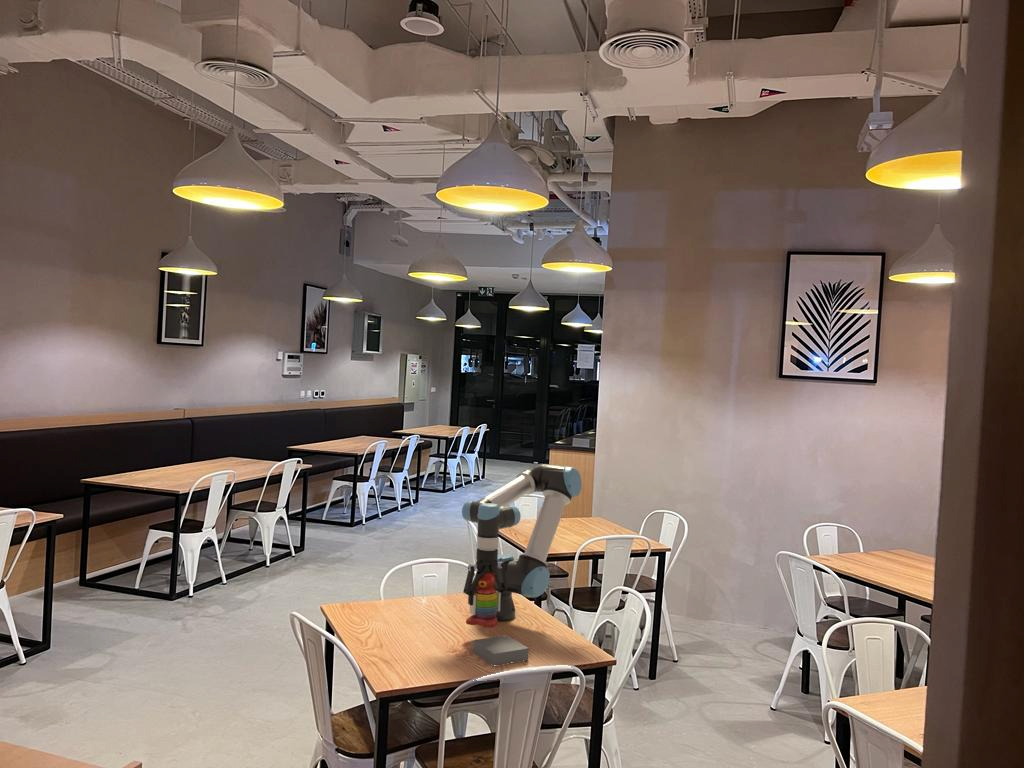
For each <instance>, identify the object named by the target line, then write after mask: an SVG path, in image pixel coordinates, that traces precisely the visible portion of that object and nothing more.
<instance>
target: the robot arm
mask: <svg viewBox="0 0 1024 768" xmlns="http://www.w3.org/2000/svg"><path fill="white" fill-rule="evenodd" d="M582 484H583V483H582V476H581V473H580V471H579V470H578V469H577V467H572V466H569V465H559V464H558V465H556V464H549V463H541V464H537V465H534V466H531V467H528V468H527V469H524V470H523V471H521V472H519V473H518V474H517V475H516V477H515V478H514V479H512V480H511V481H509V482H507V483H505V484H504V485H502V486H501V487H499V488H497V489H496V490H494V491H492V492H491V493H489V494H487V495H486V496H484V497H483V498H481V499H479V500H478V501H477V500H476V501H475V500H471V501H470V500H469V501H466V502H465V503H463V506H462V508H461V516H462V518H463V519H464V520H465V521H466V522H471V523H477V535H476V536H477V537H476V547H477V548H476V557H475V558H476V559H475V560H476V563H475V564H472V565H471V564H468V565H467V575H466V579H465V583H464V586H463V591H462V592H463V593H464V595H467V596H468V598H467V603H468V605H469V614H470V615H471V616H472V615H475V608H476V596H475V595H474V594H475V592H476V590H477V587H478V582H479V580H480V579H481V578H483V576H484V574H486V573H491V572H493V573H495V576H494V577H495V583H494V586H493V588H495V590H496V593H497V598H498V610H497V614H496V618H497V621H498V622H503V621H509V620H513V619H514V618H516V608H515V603H514V599H513V595H512V594H513V593H514V594H517V595H521V596H524V597H527V598H529V597H530V598H538V597H539V596H542V595H543V594H544V593H545V591H546V590H547V589H548V586H549V583H550V579H551V578H550V576H551V575H550V574H551V573H550V571H549V569H548V566H549V565H548V563H547V558H548V555H549V553H550V549H551V548H552V543H553V541H554V538H555V535H556V532H557V529H558V526H559V524H560V521H561V518H562V516H563V513H564V509H565V507H566V506H567V505H569V504H570V503H571V501H572V498H576V497H578V496H579V495H580V493H581V491H582V486H583V485H582ZM539 492H540V493H542V494H543V497H544V499H543V502H542V504H541V507H540V509H539V513H538V516H537V519H536V520H535V524H534V527H533V528H532V529H533V530H532V532H531V534H530V537H529V540H528V542H527V545H526V549H525V551H524V553H521V554H519V556H518V559H517V561H516V560H515V557H514V556H513V555H512V554H498V553H499V549H498V548H499V531H500V530H501V529H507V528H512V527H514V526H517V525H518V524H519V523H520V521H521V511H520V509H519V508H518V507H517V506H515V505H512V504H513V503H514V502H516V501H517V500H519V499H521V498H522V497H524V496H525V495H526V496H529V495H531V494H533V493H539ZM476 570H477V571H476ZM475 572H476V573H475ZM479 574H480V575H479Z"/></svg>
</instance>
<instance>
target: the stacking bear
mask: <svg viewBox="0 0 1024 768" xmlns="http://www.w3.org/2000/svg"><path fill="white" fill-rule="evenodd" d="M479 575H480V574H479ZM494 576H495V573H493V572H491V573H486V574H484V576H483V578H481V579H480V580H479V582H478V587H477V590H476V592H475V594H474V595H475V596H476V608H475V615H472V614H471V615H470V616H468V617H467V618H466V620H465V623H466V625H468V626H480V627H484V628H486V629H493V628H496V627H497V626H498V622H499V621H497V618H496V614H497V610H498V598H497V593H496V590H495V588H493V586H494V583H495V577H494Z"/></svg>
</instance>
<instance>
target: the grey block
mask: <svg viewBox="0 0 1024 768" xmlns="http://www.w3.org/2000/svg"><path fill="white" fill-rule="evenodd" d="M529 649H530V648H529V647H528V646H526V645H524V644H522V643H521V642H520V641H517V640H516V639H514V638H512V637H511V636H509V635H508V634H504V635H498V636H491V637H485V638H477V639H473V640H472V653H473V654H474V655H476V656H477V657H479V658H481V659H482V660H483V661H484V662H486V663H488V664H489V663H490V664H492V665H493V666H494V665H500V666H503V665H502V664H505V665H508V664H507V663H511V662H517V663H519V662H518V661H522V662H524V661H523V660H528V661H529ZM490 664H489V665H490ZM511 664H512V663H511ZM492 665H491V666H492ZM493 666H492V667H493ZM494 667H495V666H494Z"/></svg>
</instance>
